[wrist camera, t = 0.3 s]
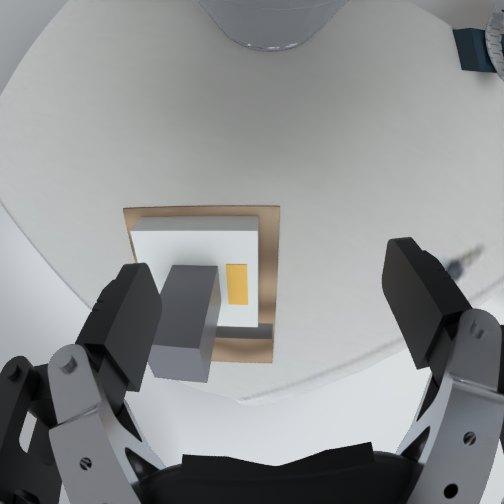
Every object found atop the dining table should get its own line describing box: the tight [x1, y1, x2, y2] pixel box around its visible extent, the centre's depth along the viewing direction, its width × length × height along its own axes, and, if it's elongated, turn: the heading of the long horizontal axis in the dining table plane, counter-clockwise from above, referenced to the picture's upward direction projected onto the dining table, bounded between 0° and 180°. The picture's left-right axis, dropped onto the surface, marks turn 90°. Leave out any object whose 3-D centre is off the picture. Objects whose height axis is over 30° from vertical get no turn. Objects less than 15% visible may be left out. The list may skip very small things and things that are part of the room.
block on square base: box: [130, 216, 259, 383], centre depth 26 cm, size 12×12×13 cm
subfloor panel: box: [123, 206, 280, 363], centre depth 34 cm, size 24×16×1 cm, turn 1°
